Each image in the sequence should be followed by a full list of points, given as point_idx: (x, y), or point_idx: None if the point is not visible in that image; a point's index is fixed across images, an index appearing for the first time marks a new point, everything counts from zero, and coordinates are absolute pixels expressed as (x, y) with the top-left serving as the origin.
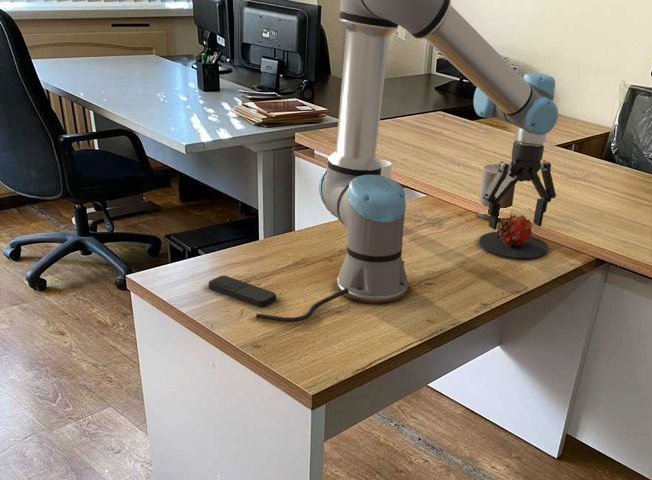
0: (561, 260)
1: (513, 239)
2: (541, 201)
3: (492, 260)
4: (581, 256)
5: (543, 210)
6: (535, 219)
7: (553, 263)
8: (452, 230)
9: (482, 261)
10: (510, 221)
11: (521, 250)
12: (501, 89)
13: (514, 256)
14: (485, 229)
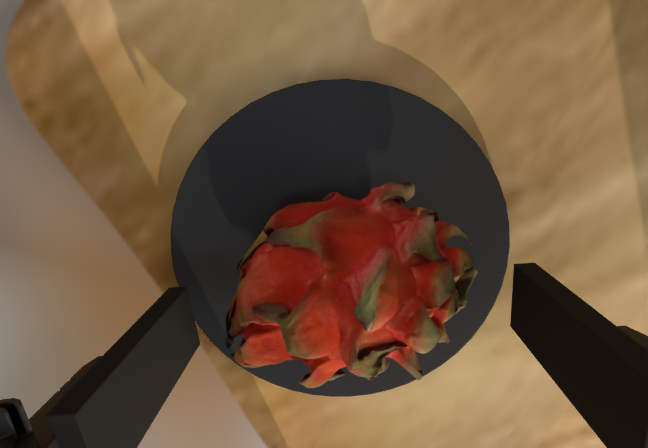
0: (161, 43)
1: (410, 184)
2: (88, 435)
3: (538, 105)
4: (28, 78)
5: (111, 353)
6: (184, 345)
7: (224, 9)
8: (519, 443)
9: (599, 101)
10: (418, 298)
11: (337, 177)
12: None
13: (415, 107)
14: (371, 434)
